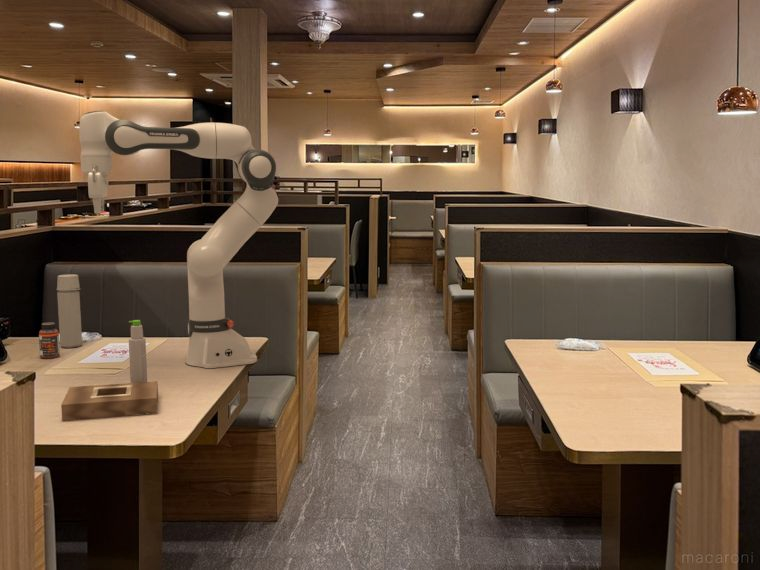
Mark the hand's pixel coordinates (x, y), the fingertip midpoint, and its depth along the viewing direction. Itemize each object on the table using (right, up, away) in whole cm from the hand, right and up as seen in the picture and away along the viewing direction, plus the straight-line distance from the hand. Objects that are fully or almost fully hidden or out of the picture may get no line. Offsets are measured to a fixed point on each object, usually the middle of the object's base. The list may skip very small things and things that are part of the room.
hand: (99, 212), depth 222 cm
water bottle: (-24, -43, +37) cm, 62 cm away
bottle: (+18, -51, -19) cm, 58 cm away
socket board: (+16, -53, -33) cm, 65 cm away
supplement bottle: (-24, -46, +21) cm, 56 cm away
